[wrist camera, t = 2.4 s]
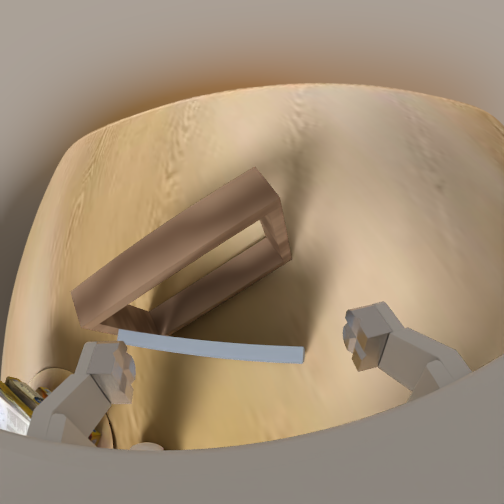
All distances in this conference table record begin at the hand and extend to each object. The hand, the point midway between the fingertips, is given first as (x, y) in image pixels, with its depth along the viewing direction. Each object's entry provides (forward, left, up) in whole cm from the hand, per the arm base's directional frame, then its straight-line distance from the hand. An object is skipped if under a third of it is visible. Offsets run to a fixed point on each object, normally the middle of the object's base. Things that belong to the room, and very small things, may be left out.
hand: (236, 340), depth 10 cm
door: (+4, +7, -30) cm, 31 cm away
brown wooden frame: (+13, +4, -31) cm, 34 cm away
